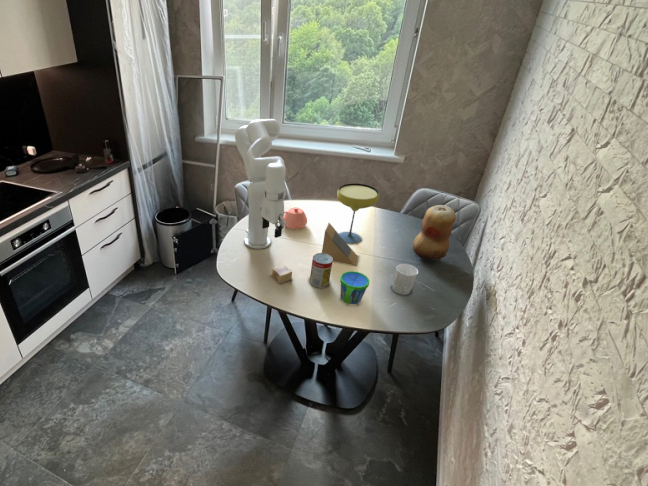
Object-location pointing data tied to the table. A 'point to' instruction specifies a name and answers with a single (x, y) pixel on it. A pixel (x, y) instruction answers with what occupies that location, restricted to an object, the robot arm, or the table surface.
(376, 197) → the cocktail glass
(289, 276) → the block
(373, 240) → the table surface
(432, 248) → the butternut squash
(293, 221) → the sugar bowl
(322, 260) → the canned food
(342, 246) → the sandwich container
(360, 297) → the snack cup
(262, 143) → the robot arm
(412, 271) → the white cup
